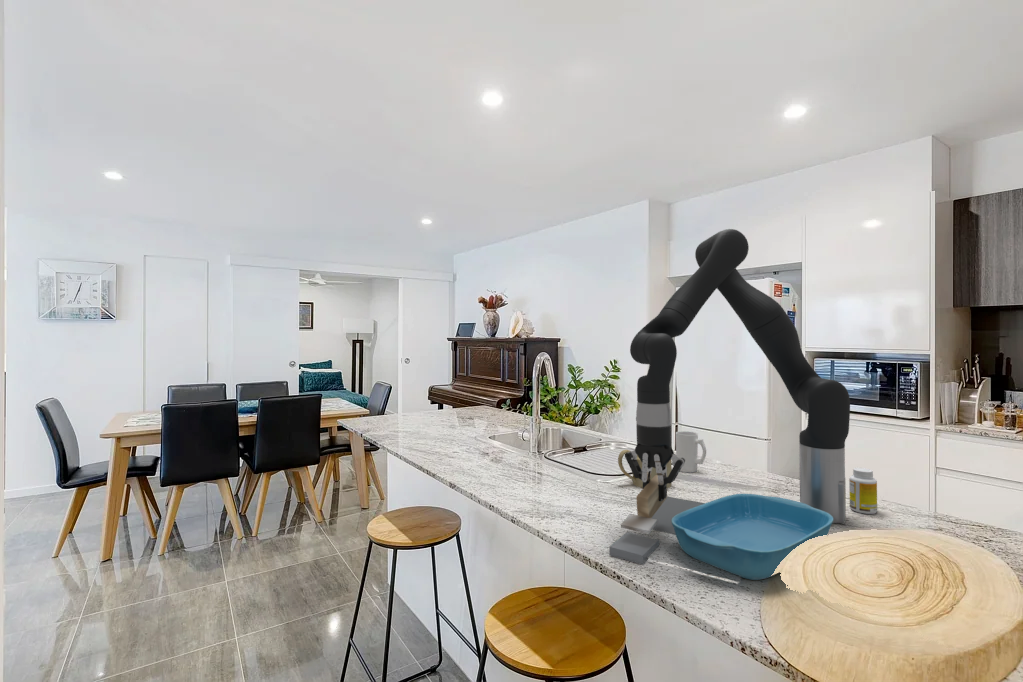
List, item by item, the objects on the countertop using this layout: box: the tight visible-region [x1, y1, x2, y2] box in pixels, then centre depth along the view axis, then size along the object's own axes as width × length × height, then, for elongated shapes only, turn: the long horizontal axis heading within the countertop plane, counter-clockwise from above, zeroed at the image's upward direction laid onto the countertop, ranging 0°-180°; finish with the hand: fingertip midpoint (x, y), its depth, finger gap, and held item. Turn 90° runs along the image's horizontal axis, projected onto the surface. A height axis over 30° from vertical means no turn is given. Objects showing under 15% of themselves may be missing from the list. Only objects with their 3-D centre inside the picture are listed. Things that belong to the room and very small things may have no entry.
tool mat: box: [652, 495, 706, 536], centre depth 120 cm, size 12×24×1 cm, turn 144°
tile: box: [608, 531, 660, 565], centre depth 101 cm, size 7×2×9 cm
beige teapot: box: [617, 449, 673, 489], centre depth 143 cm, size 15×11×15 cm
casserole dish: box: [671, 493, 834, 581], centre depth 101 cm, size 37×22×7 cm, turn 127°
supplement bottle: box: [848, 467, 878, 515], centre depth 121 cm, size 6×6×10 cm
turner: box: [620, 475, 668, 535], centre depth 107 cm, size 6×17×5 cm, turn 144°
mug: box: [675, 430, 707, 474], centre depth 158 cm, size 10×7×12 cm, turn 39°
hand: (654, 498), depth 110 cm, fingers closed on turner, 2 cm apart
